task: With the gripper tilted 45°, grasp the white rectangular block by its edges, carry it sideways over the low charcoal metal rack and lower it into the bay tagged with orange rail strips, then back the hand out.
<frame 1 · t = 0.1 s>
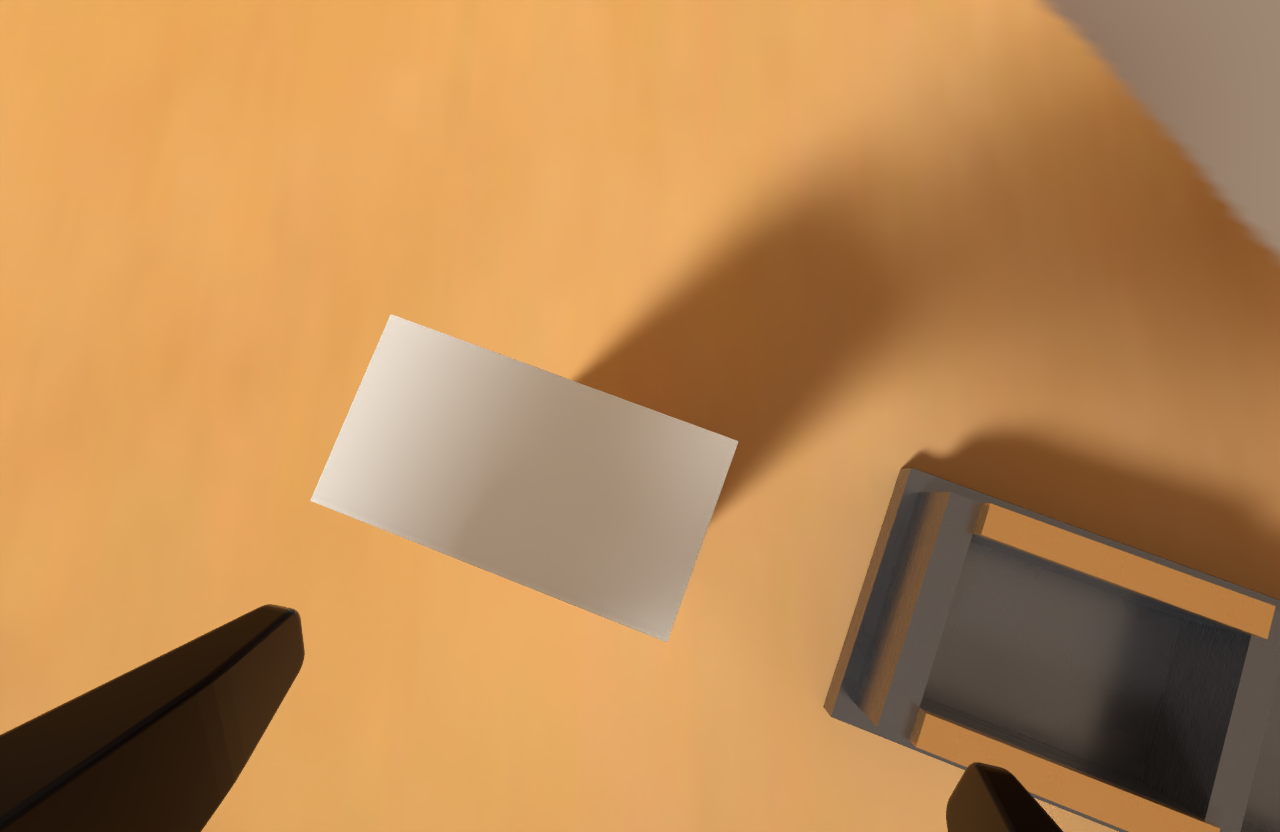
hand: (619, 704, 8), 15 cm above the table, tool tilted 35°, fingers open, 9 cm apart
rack: (1018, 644, 22), on the table
white rectangular block: (600, 485, 23), on the table
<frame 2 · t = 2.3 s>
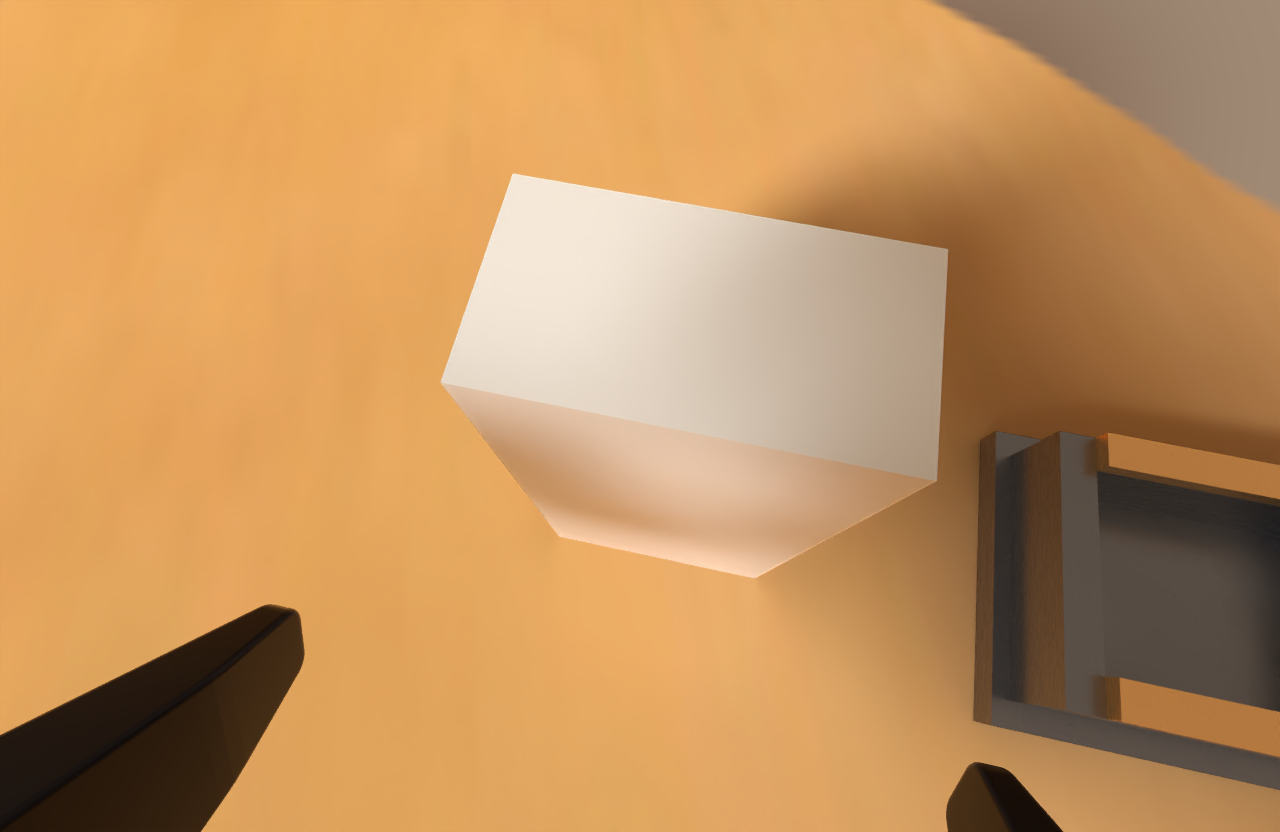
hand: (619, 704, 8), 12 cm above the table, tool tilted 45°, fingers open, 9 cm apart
rack: (1161, 608, 20), on the table
white rectangular block: (666, 505, 21), on the table
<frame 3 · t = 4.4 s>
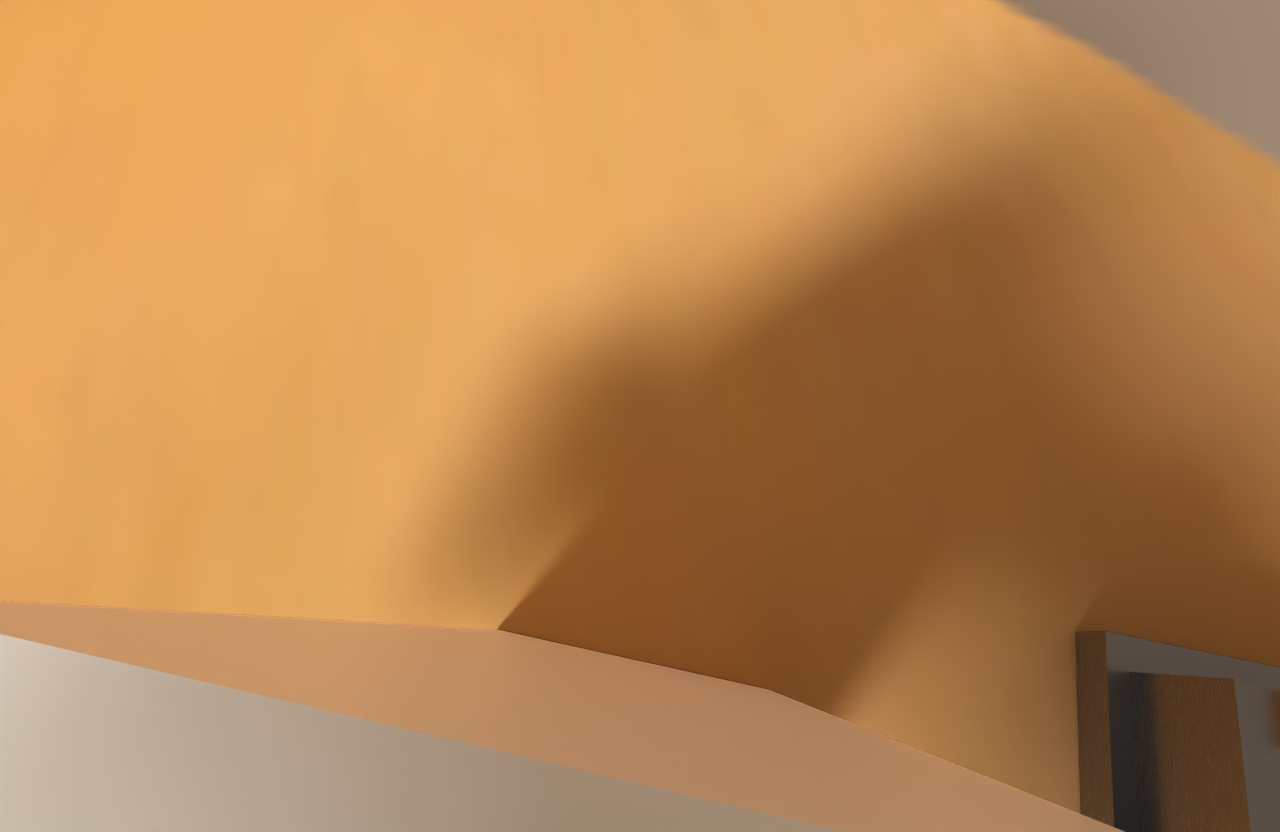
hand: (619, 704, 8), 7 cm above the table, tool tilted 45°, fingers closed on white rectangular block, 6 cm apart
white rectangular block: (614, 740, 14), on the table, touching gripper
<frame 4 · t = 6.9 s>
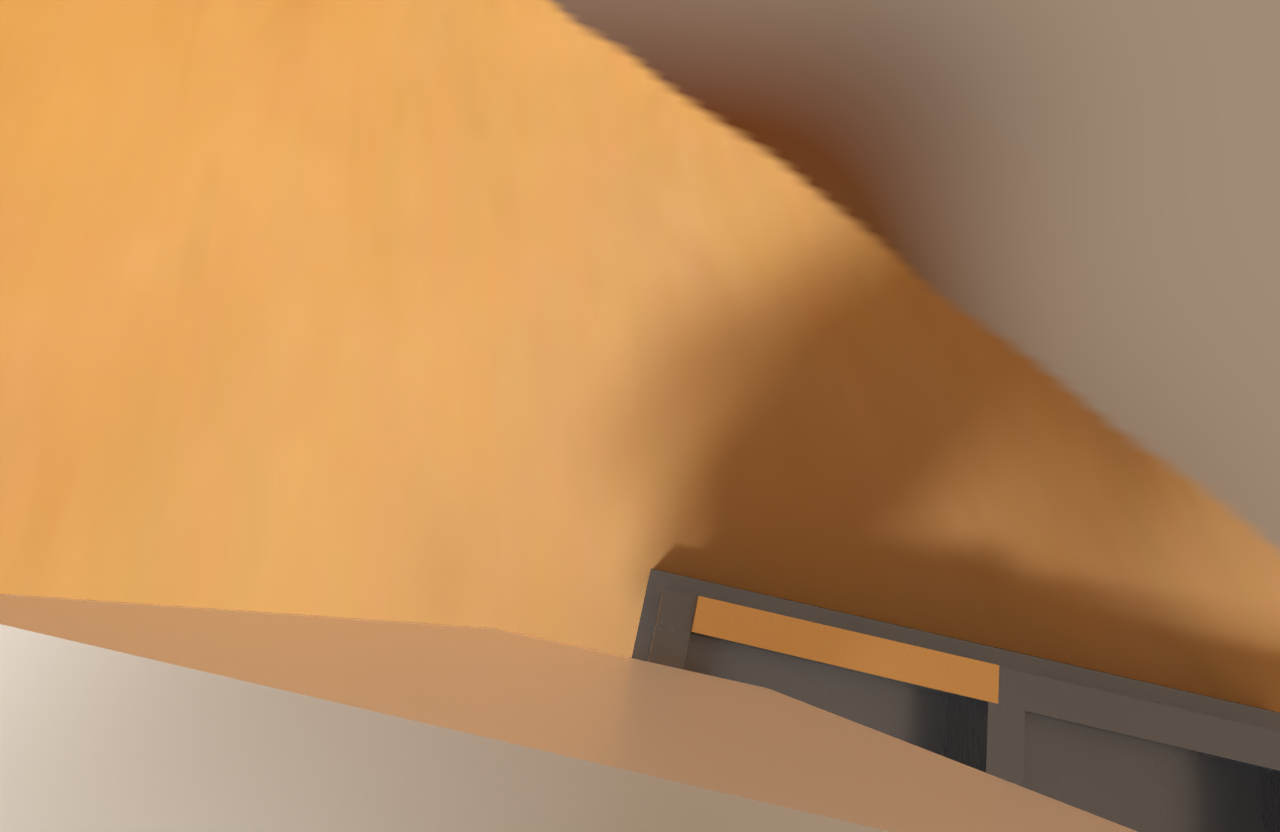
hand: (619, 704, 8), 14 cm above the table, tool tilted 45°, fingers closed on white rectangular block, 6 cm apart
rack: (794, 750, 20), on the table
white rectangular block: (613, 739, 14), point 7 cm above the table, touching gripper
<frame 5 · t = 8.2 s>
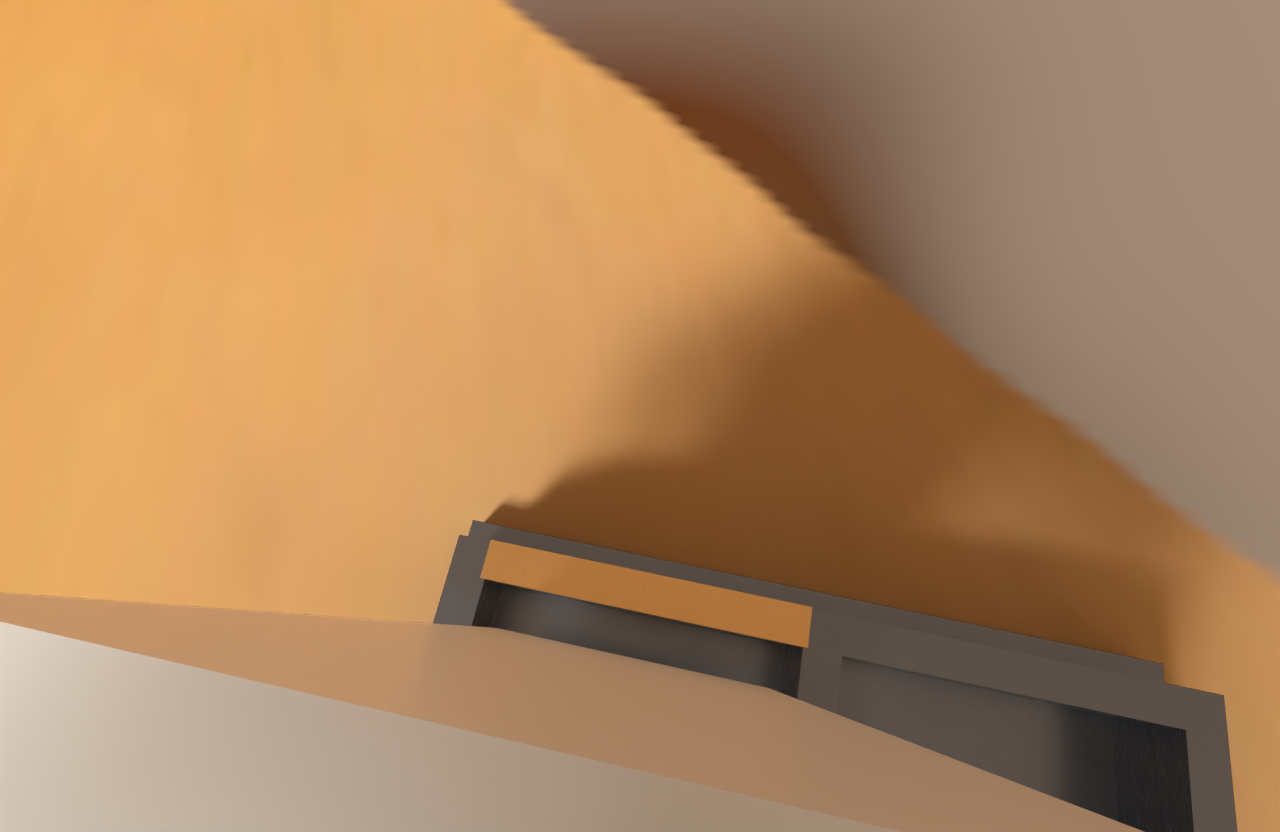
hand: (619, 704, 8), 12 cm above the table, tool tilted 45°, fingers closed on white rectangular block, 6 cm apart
rack: (622, 710, 19), on the table
white rectangular block: (614, 739, 14), point 5 cm above the table, touching gripper
when the fingers open (8 cm above the table, at t = 9.4 s): white rectangular block stays where it is, resting on rack.
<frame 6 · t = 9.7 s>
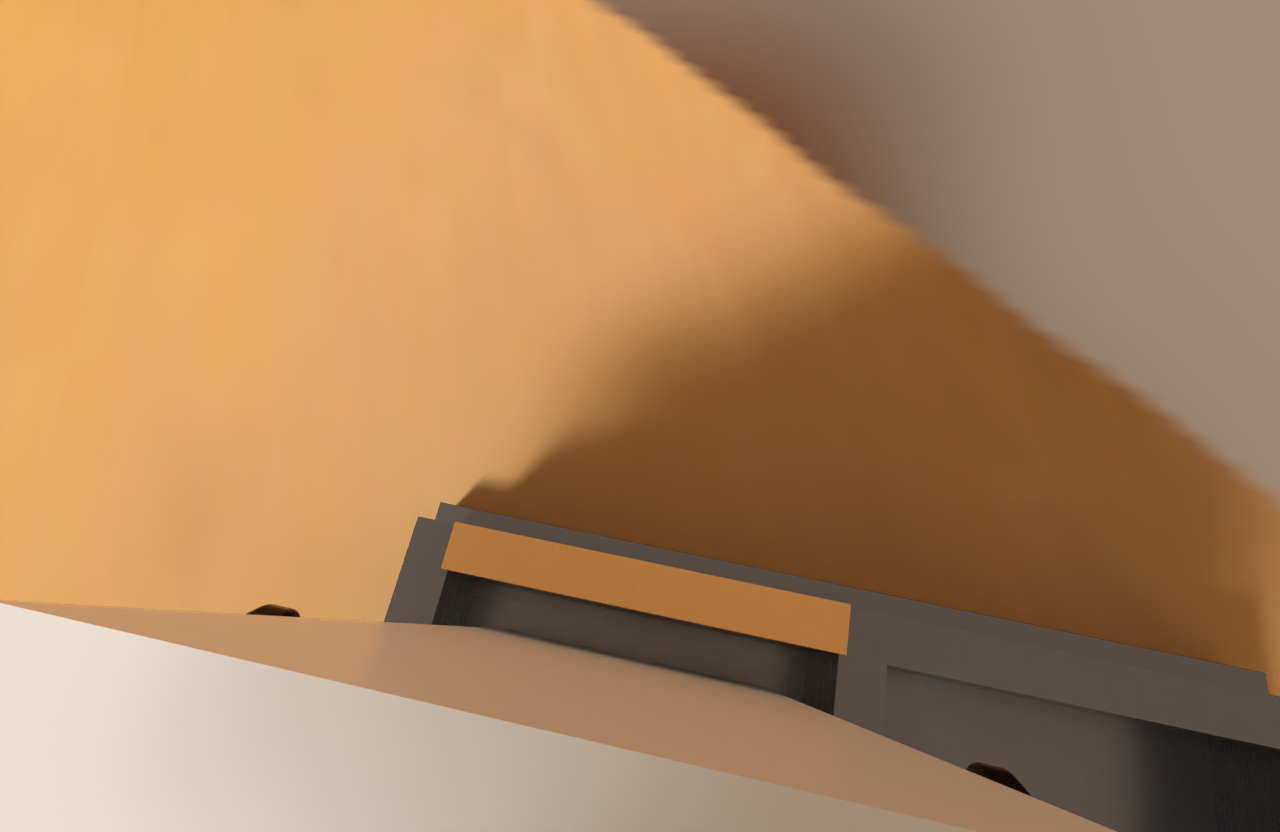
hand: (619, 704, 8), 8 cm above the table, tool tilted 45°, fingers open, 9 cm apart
rack: (617, 729, 16), on the table
white rectangular block: (614, 734, 15), point 1 cm above the table, touching rack
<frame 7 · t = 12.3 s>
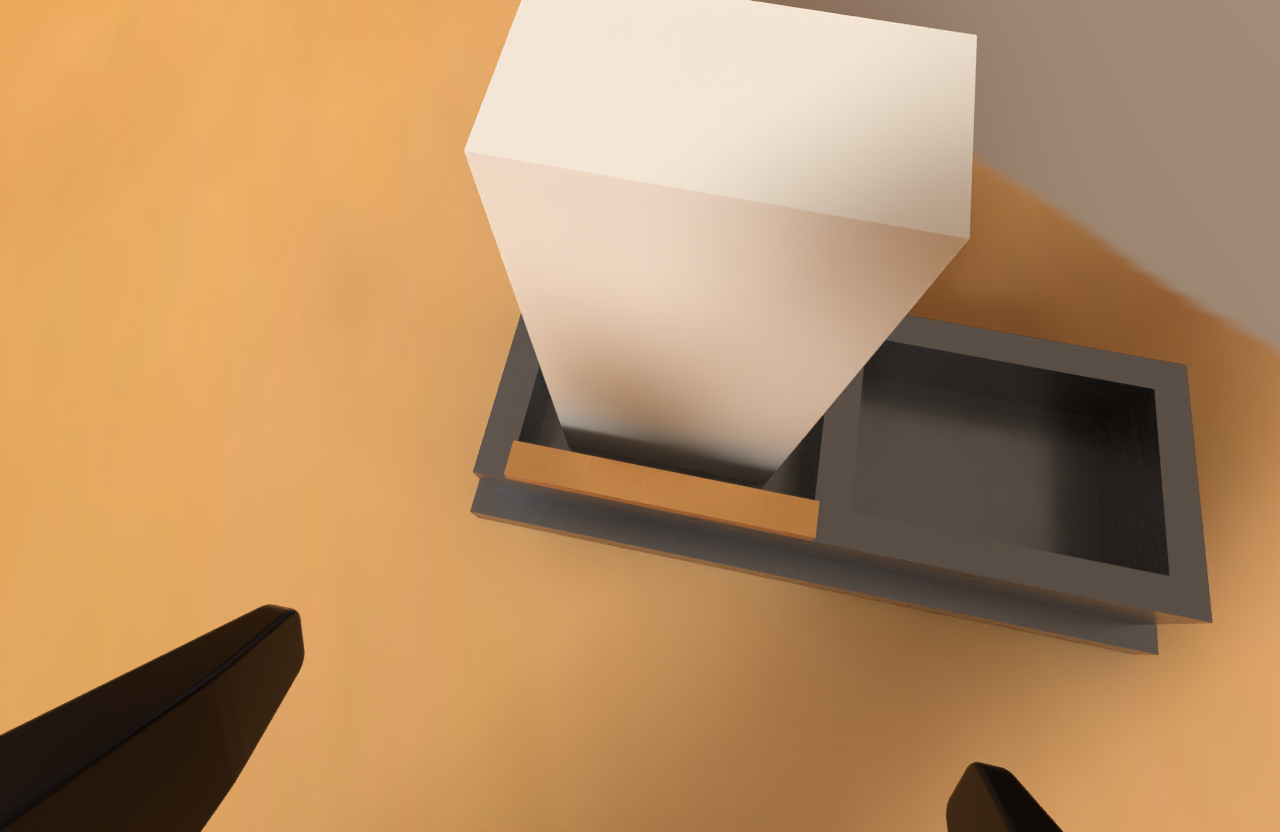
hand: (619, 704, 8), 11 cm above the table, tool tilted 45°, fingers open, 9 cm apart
rack: (674, 424, 22), on the table
white rectangular block: (675, 414, 21), point 1 cm above the table, touching rack
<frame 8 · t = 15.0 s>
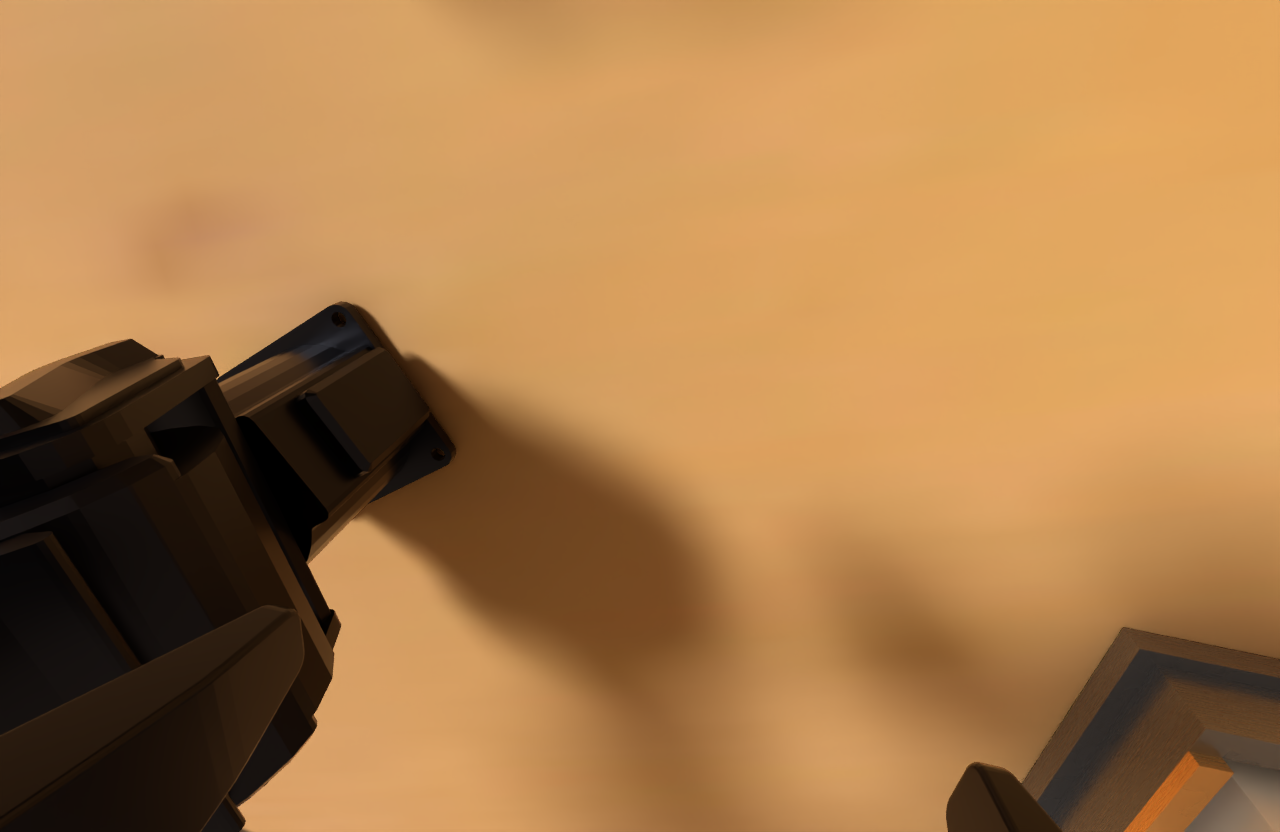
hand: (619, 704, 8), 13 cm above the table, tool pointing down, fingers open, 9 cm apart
rack: (1171, 763, 24), on the table
white rectangular block: (1189, 788, 23), point 1 cm above the table, touching rack
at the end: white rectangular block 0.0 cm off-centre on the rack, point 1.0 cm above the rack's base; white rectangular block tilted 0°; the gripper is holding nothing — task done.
